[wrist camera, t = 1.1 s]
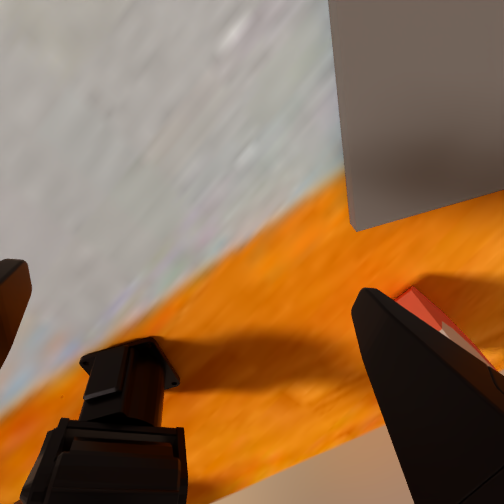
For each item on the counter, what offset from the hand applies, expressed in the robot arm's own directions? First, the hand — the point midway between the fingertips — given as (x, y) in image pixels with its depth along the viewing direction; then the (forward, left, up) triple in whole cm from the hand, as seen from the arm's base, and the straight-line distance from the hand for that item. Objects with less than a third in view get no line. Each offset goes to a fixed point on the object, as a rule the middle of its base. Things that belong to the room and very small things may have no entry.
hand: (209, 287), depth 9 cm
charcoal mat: (-1, -16, -13) cm, 21 cm away
